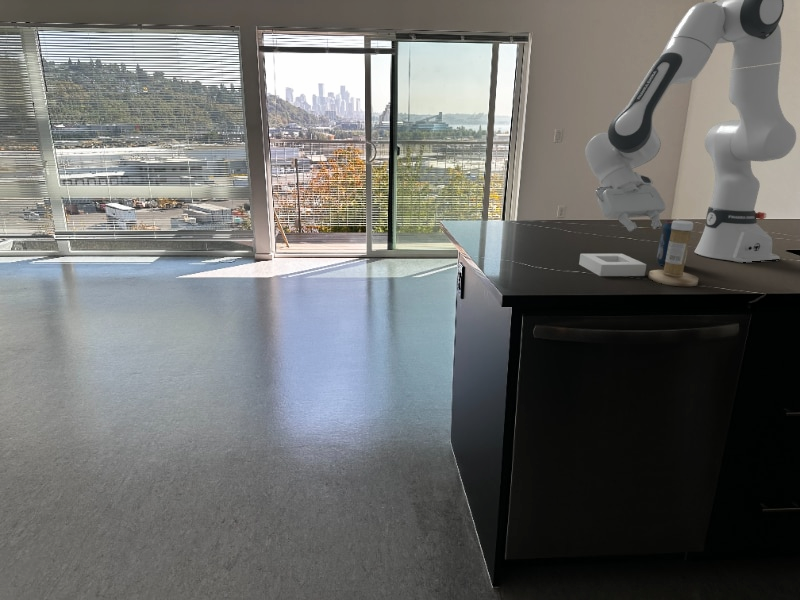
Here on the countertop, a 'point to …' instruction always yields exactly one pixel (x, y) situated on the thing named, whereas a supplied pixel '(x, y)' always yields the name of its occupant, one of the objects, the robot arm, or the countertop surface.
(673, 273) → the sprinkles bottle
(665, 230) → the soda can
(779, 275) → the countertop surface
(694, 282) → the disc
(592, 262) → the collar
